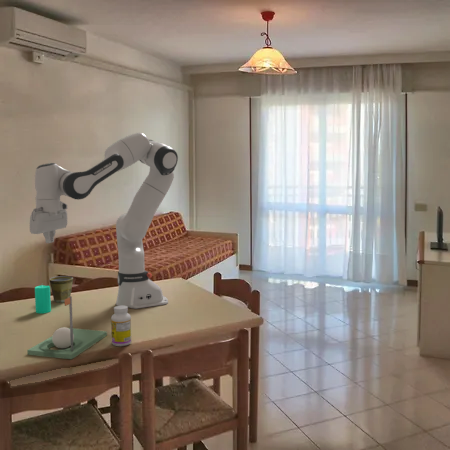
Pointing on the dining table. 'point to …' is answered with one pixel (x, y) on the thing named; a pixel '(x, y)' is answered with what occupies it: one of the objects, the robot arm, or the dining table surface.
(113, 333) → the supplement bottle
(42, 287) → the candle
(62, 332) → the ball
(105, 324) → the dining table surface
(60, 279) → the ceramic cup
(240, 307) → the dining table surface
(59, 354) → the green
